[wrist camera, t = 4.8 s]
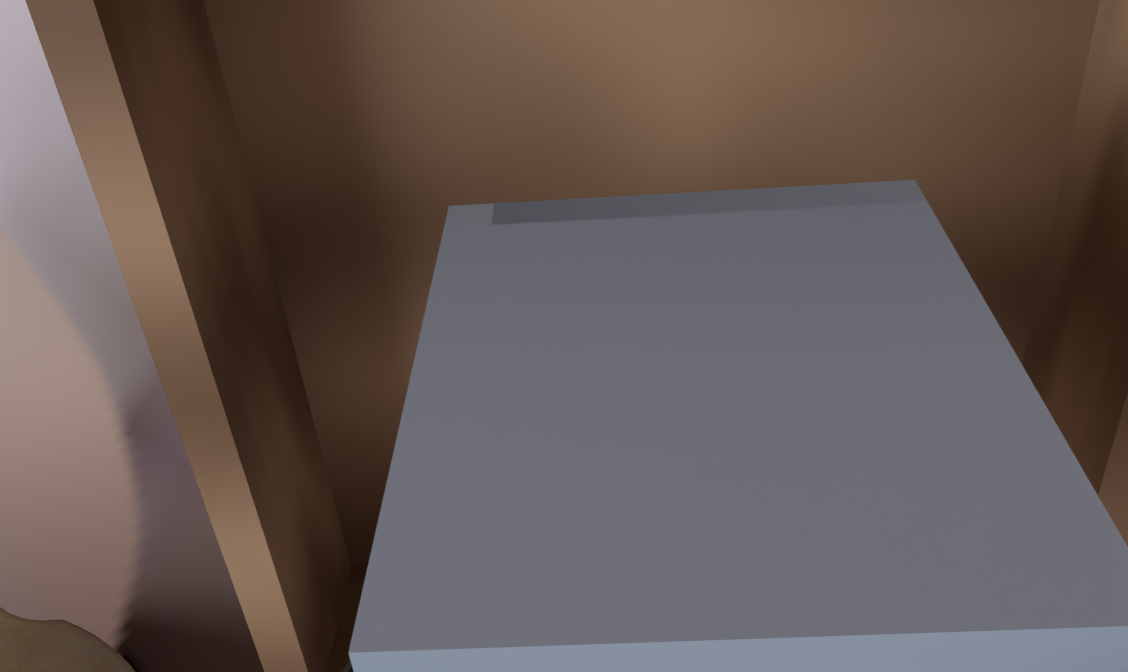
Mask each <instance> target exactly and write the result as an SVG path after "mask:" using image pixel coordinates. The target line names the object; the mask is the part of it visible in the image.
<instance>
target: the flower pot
mask: <svg viewBox="0 0 1128 672" xmlns="http://www.w3.org/2000/svg"><path fill="white" fill-rule="evenodd" d="M0 672H135V671H134V669H133V668H132V666H131V665H130V664H129V663H128V662H127V661H126V660H125V659H124V658H123V657H122V656H121V655H120V654H119V653H117V652H116V651H115V650H114V649H113V648H111V647H110V646H109V645H108V644H107V643H105V642H104V641H102V640H101V639H99V638H98V637H96V636H95V635H93V634H91V633H90V632H88V631H86V630H84V629H82V628H81V627H78V626H76V625H74V624H72V623H69V622H67V621H64V620H48V621H38V620H37V621H36V620H28V619H24V618H20V617H17V616H14V615H12V614H9V613H8V612H6V611H5V610H3V609H2V608H0Z"/></svg>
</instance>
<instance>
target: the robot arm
mask: <svg viewBox="0 0 1128 672" xmlns="http://www.w3.org/2000/svg"><path fill="white" fill-rule="evenodd" d="M343 672H354V671H353V668H352V664H351V660H349V662H348V663H347V665H346V667H345V668H344V670H343Z"/></svg>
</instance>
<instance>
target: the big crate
mask: <svg viewBox="0 0 1128 672" xmlns="http://www.w3.org/2000/svg"><path fill="white" fill-rule="evenodd" d="M26 3H27V6H28V9H29V11H30V14H31V17H32V20H33V23H34V25H35V28H36V31H37V34H38V37H39V40H40V42H41V45H42V48H43V51H44V54H45V56H46V59H47V62H48V65H49V68H50V70H51V73H52V76H53V79H54V82H55V85H56V87H57V90H58V93H59V96H60V99H61V101H62V104H63V107H64V110H65V113H66V115H67V118H68V121H69V124H70V127H71V130H72V132H73V135H74V138H75V141H76V144H77V146H78V149H79V152H80V155H81V158H82V160H83V163H84V166H85V169H86V172H87V175H88V177H89V180H90V183H91V186H92V189H93V191H94V194H95V197H96V200H97V203H98V205H99V208H100V211H101V214H102V217H103V220H104V222H105V225H106V228H107V231H108V234H109V236H110V239H111V242H112V245H113V248H114V250H115V253H116V256H117V259H118V262H119V265H120V267H121V270H122V273H123V276H124V279H125V281H126V284H127V287H128V290H129V293H130V295H131V298H132V301H133V304H134V307H135V310H136V312H137V315H138V318H139V321H140V324H141V326H142V329H143V332H144V335H145V338H146V340H147V343H148V346H149V349H150V352H151V355H152V357H153V360H154V363H155V366H156V369H157V371H158V374H159V377H160V380H161V383H162V385H163V388H164V391H165V394H166V397H167V399H168V402H169V405H170V408H171V411H172V414H173V416H174V419H175V422H176V425H177V428H178V430H179V433H180V436H181V439H182V442H183V444H184V447H185V450H186V453H187V456H188V459H189V461H190V464H191V467H192V470H193V473H194V475H195V478H196V481H197V484H198V487H199V489H200V492H201V495H202V498H203V501H204V504H205V506H206V509H207V512H208V515H209V518H210V520H211V523H212V526H213V529H214V532H215V534H216V537H217V540H218V543H219V546H220V549H221V551H222V554H223V557H224V560H225V563H226V565H227V568H228V571H229V574H230V577H231V579H232V582H233V585H234V588H235V591H236V594H237V596H238V599H239V602H240V605H241V608H242V610H243V613H244V616H245V619H246V622H247V624H248V627H249V630H250V633H251V636H252V639H253V641H254V644H255V647H256V650H257V653H258V655H259V658H260V661H261V664H262V667H263V669H264V672H343V670H344V668H345V667H346V665H347V663H348V662H349V660H350V657H349V653H348V652H349V648H350V643H351V639H352V634H353V630H354V625H355V621H356V617H357V612H358V608H359V603H360V599H361V594H362V590H363V585H364V581H365V577H366V572H367V568H368V563H369V559H370V554H371V550H372V545H373V541H374V536H375V532H376V528H377V523H378V519H379V514H380V510H381V505H382V501H383V496H384V492H385V488H386V483H387V479H388V474H389V470H390V465H391V461H392V456H393V452H394V448H395V443H396V439H397V434H398V430H399V425H400V421H401V416H402V412H403V408H404V403H405V399H406V394H407V390H408V385H409V381H410V376H411V372H412V367H413V363H414V359H415V354H416V350H417V345H418V341H419V336H420V332H421V327H422V323H423V319H424V314H425V310H426V305H427V301H428V296H429V292H430V287H431V283H432V279H433V274H434V270H435V265H436V261H437V256H438V252H439V247H440V243H441V238H442V234H443V230H444V225H445V221H446V216H447V212H448V207H449V206H454V205H472V204H490V203H508V202H526V201H544V200H562V199H579V198H597V197H615V196H633V195H651V194H669V193H686V192H704V191H722V190H740V189H758V188H776V187H793V186H811V185H829V184H847V183H865V182H883V181H900V180H915V181H916V183H917V184H918V186H919V188H920V190H921V191H922V193H923V195H924V196H925V198H926V200H927V202H928V203H929V205H930V207H931V209H932V210H933V212H934V214H935V215H936V217H937V219H938V221H939V222H940V224H941V226H942V228H943V229H944V231H945V233H946V234H947V236H948V238H949V240H950V241H951V243H952V245H953V247H954V248H955V250H956V252H957V253H958V255H959V257H960V259H961V260H962V262H963V264H964V266H965V267H966V269H967V271H968V272H969V274H970V276H971V278H972V279H973V281H974V283H975V284H976V286H977V288H978V290H979V291H980V293H981V295H982V297H983V298H984V300H985V302H986V303H987V305H988V307H989V309H990V310H991V312H992V314H993V316H994V317H995V319H996V321H997V322H998V324H999V326H1000V328H1001V329H1002V331H1003V333H1004V335H1005V336H1006V338H1007V340H1008V341H1009V343H1010V345H1011V347H1012V348H1013V350H1014V352H1015V354H1016V355H1017V357H1018V359H1019V360H1020V362H1021V364H1022V366H1023V367H1024V369H1025V371H1026V372H1027V374H1028V376H1029V378H1030V379H1031V381H1032V383H1033V385H1034V386H1035V388H1036V390H1037V391H1038V393H1039V395H1040V397H1041V398H1042V400H1043V402H1044V404H1045V405H1046V407H1047V409H1048V410H1049V412H1050V414H1051V416H1052V417H1053V419H1054V421H1055V423H1056V424H1057V426H1058V428H1059V429H1060V431H1061V433H1062V435H1063V436H1064V438H1065V440H1066V442H1067V443H1068V445H1069V447H1070V448H1071V450H1072V452H1073V454H1074V455H1075V457H1076V459H1077V460H1078V462H1079V464H1080V466H1081V467H1082V469H1083V471H1084V473H1085V474H1086V476H1087V478H1088V479H1089V481H1090V483H1091V485H1092V486H1093V488H1094V490H1095V492H1096V493H1097V495H1098V497H1099V498H1100V500H1101V502H1102V504H1103V505H1104V507H1105V509H1106V511H1107V512H1108V514H1109V516H1110V517H1111V519H1112V521H1113V523H1114V524H1115V526H1116V528H1117V530H1118V531H1119V533H1120V535H1121V536H1122V538H1123V540H1124V542H1125V543H1126V545H1127V547H1128V0H26Z"/></svg>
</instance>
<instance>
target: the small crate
mask: <svg viewBox="0 0 1128 672" xmlns="http://www.w3.org/2000/svg"><path fill="white" fill-rule="evenodd" d="M348 653H349V657H350V660H351V664H352V668H353V671H354V672H1128V547H1127V545H1126V543H1125V542H1124V540H1123V538H1122V536H1121V535H1120V533H1119V531H1118V530H1117V528H1116V526H1115V524H1114V523H1113V521H1112V519H1111V517H1110V516H1109V514H1108V512H1107V511H1106V509H1105V507H1104V505H1103V504H1102V502H1101V500H1100V498H1099V497H1098V495H1097V493H1096V492H1095V490H1094V488H1093V486H1092V485H1091V483H1090V481H1089V479H1088V478H1087V476H1086V474H1085V473H1084V471H1083V469H1082V467H1081V466H1080V464H1079V462H1078V460H1077V459H1076V457H1075V455H1074V454H1073V452H1072V450H1071V448H1070V447H1069V445H1068V443H1067V442H1066V440H1065V438H1064V436H1063V435H1062V433H1061V431H1060V429H1059V428H1058V426H1057V424H1056V423H1055V421H1054V419H1053V417H1052V416H1051V414H1050V412H1049V410H1048V409H1047V407H1046V405H1045V404H1044V402H1043V400H1042V398H1041V397H1040V395H1039V393H1038V391H1037V390H1036V388H1035V386H1034V385H1033V383H1032V381H1031V379H1030V378H1029V376H1028V374H1027V372H1026V371H1025V369H1024V367H1023V366H1022V364H1021V362H1020V360H1019V359H1018V357H1017V355H1016V354H1015V352H1014V350H1013V348H1012V347H1011V345H1010V343H1009V341H1008V340H1007V338H1006V336H1005V335H1004V333H1003V331H1002V329H1001V328H1000V326H999V324H998V322H997V321H996V319H995V317H994V316H993V314H992V312H991V310H990V309H989V307H988V305H987V303H986V302H985V300H984V298H983V297H982V295H981V293H980V291H979V290H978V288H977V286H976V284H975V283H974V281H973V279H972V278H971V276H970V274H969V272H968V271H967V269H966V267H965V266H964V264H963V262H962V260H961V259H960V257H959V255H958V253H957V252H956V250H955V248H954V247H953V245H952V243H951V241H950V240H949V238H948V236H947V234H946V233H945V231H944V229H943V228H942V226H941V224H940V222H939V221H938V219H937V217H936V215H935V214H934V212H933V210H932V209H931V207H930V205H929V203H928V202H927V200H926V198H925V196H924V195H923V193H922V191H921V190H920V188H919V186H918V184H917V183H916V181H915V180H900V181H883V182H865V183H847V184H829V185H811V186H793V187H776V188H758V189H740V190H722V191H704V192H686V193H669V194H651V195H633V196H615V197H597V198H579V199H562V200H544V201H526V202H508V203H490V204H472V205H454V206H449V207H448V212H447V216H446V221H445V225H444V230H443V234H442V238H441V243H440V247H439V252H438V256H437V261H436V265H435V270H434V274H433V279H432V283H431V287H430V292H429V296H428V301H427V305H426V310H425V314H424V319H423V323H422V327H421V332H420V336H419V341H418V345H417V350H416V354H415V359H414V363H413V367H412V372H411V376H410V381H409V385H408V390H407V394H406V399H405V403H404V408H403V412H402V416H401V421H400V425H399V430H398V434H397V439H396V443H395V448H394V452H393V456H392V461H391V465H390V470H389V474H388V479H387V483H386V488H385V492H384V496H383V501H382V505H381V510H380V514H379V519H378V523H377V528H376V532H375V536H374V541H373V545H372V550H371V554H370V559H369V563H368V568H367V572H366V577H365V581H364V585H363V590H362V594H361V599H360V603H359V608H358V612H357V617H356V621H355V625H354V630H353V634H352V639H351V643H350V648H349V652H348Z"/></svg>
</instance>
